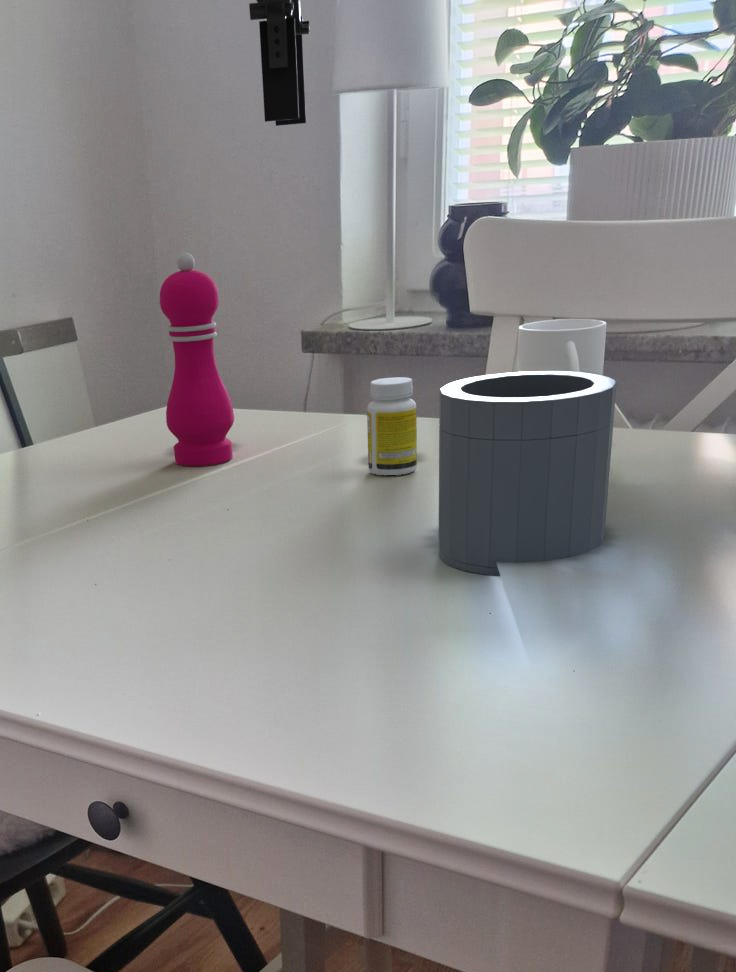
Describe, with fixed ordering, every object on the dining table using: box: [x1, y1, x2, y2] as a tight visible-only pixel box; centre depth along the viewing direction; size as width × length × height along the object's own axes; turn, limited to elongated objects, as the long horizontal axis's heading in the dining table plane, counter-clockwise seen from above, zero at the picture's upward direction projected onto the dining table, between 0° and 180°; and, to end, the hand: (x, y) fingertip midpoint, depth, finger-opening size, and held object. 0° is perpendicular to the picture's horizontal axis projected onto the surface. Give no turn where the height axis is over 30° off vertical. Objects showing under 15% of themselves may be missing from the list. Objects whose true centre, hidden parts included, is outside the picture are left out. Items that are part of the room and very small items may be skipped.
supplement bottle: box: [366, 376, 418, 477], centre depth 113 cm, size 5×5×8 cm
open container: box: [437, 371, 618, 577], centre depth 86 cm, size 12×12×12 cm
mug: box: [516, 318, 607, 376], centre depth 111 cm, size 12×8×12 cm
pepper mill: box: [159, 252, 235, 468], centre depth 120 cm, size 7×7×20 cm
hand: (286, 123), depth 98 cm, fingers open, 13 cm apart
